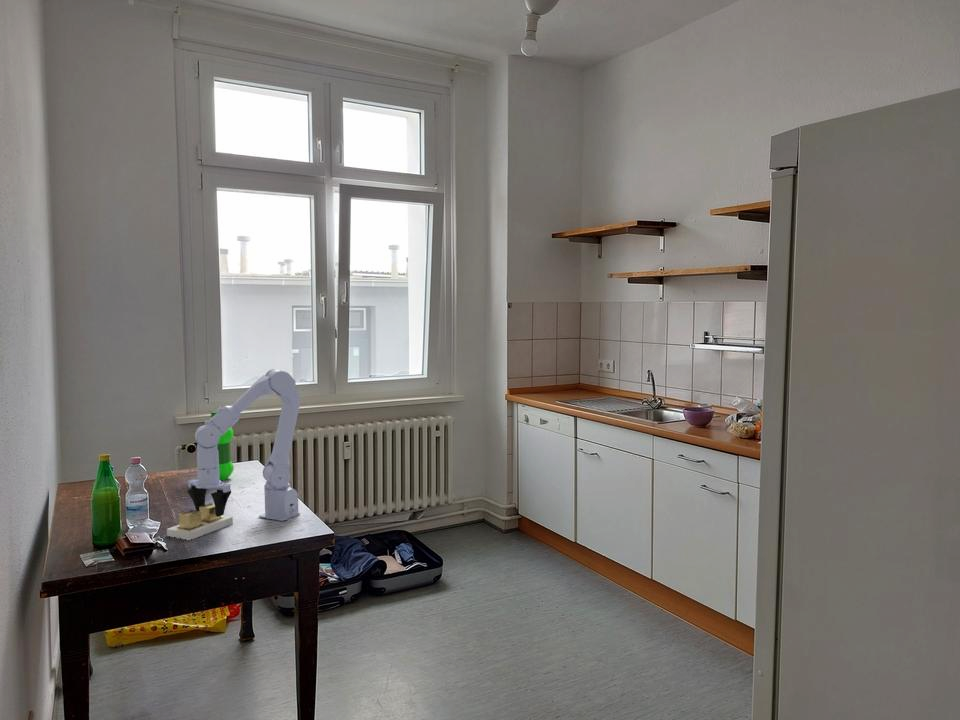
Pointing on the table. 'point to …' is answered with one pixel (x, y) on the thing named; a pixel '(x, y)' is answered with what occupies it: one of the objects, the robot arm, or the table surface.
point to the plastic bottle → (224, 453)
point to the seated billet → (189, 520)
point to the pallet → (199, 529)
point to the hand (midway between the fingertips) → (210, 513)
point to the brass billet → (208, 513)
